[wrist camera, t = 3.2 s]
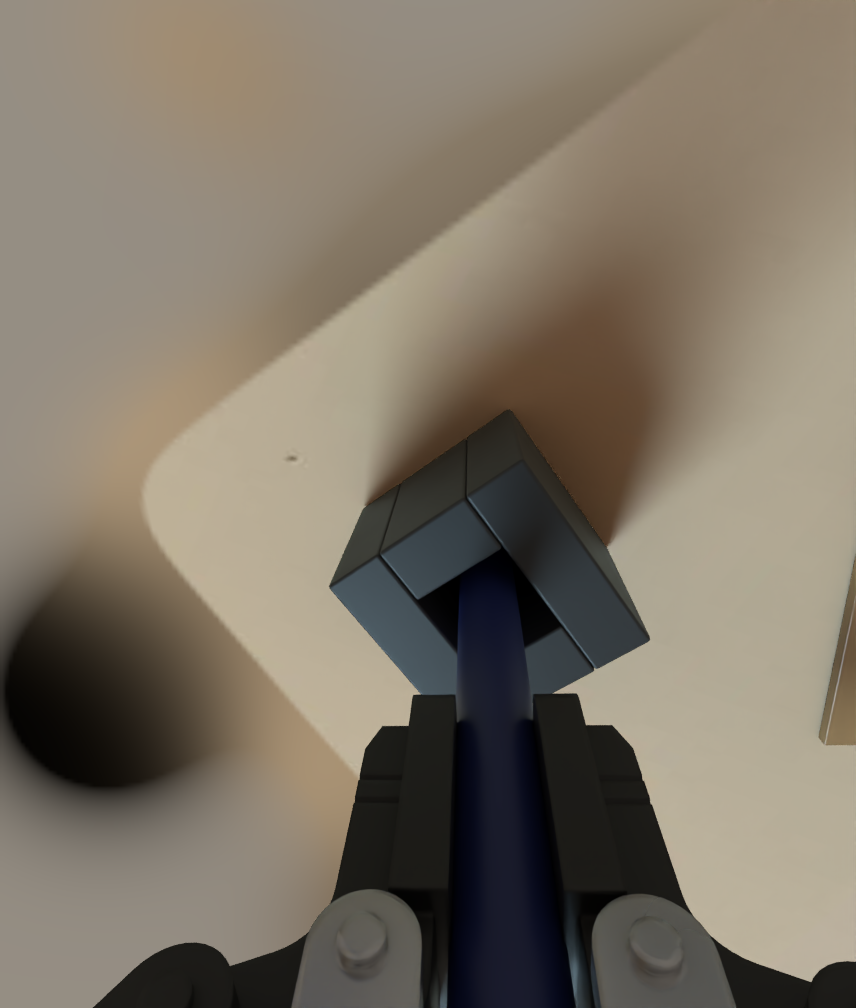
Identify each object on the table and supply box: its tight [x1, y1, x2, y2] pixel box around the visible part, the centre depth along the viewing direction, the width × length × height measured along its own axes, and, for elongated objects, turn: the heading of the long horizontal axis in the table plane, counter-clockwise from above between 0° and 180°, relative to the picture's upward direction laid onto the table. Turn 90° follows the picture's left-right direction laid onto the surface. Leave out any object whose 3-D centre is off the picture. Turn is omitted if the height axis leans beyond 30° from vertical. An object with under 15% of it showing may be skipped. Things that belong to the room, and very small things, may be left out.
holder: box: [329, 410, 650, 704], centre depth 17 cm, size 5×5×5 cm
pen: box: [447, 546, 576, 1008], centre depth 13 cm, size 1×1×14 cm
